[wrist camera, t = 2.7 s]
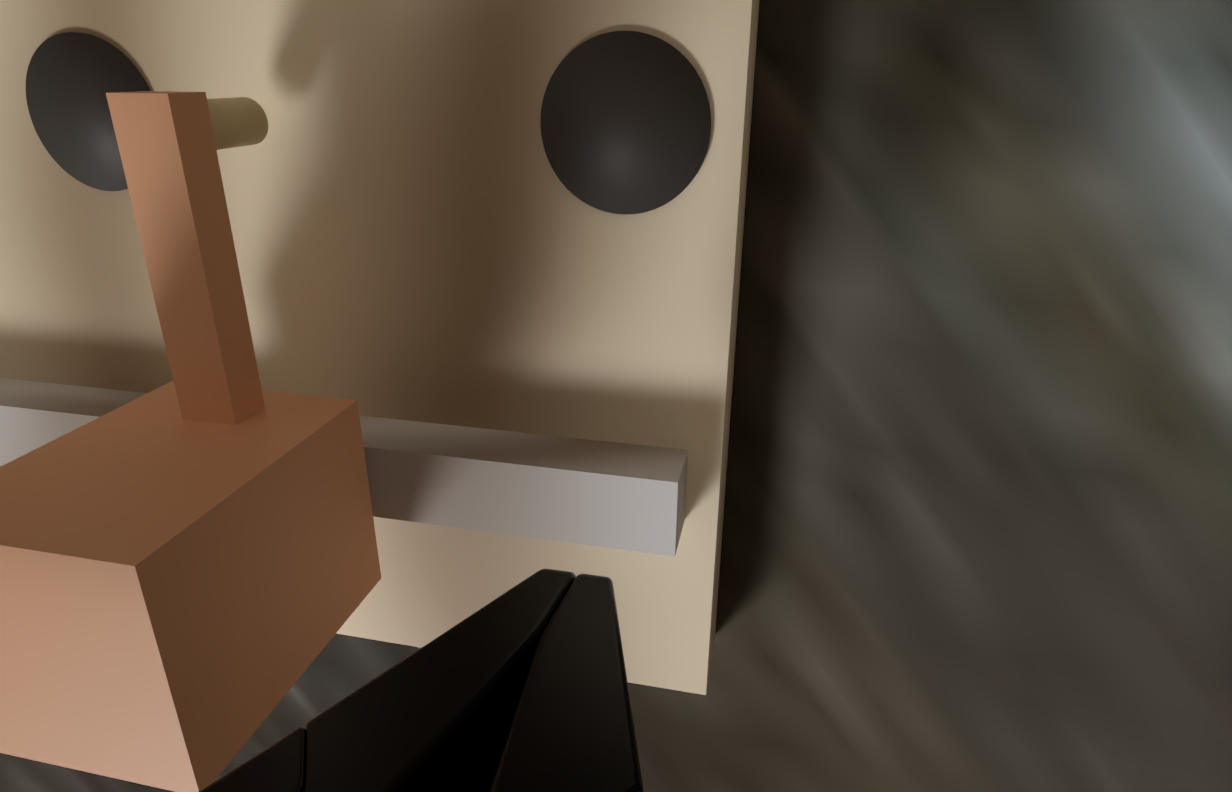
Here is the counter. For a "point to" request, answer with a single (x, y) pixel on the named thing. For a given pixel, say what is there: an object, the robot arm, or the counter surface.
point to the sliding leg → (179, 507)
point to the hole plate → (426, 271)
